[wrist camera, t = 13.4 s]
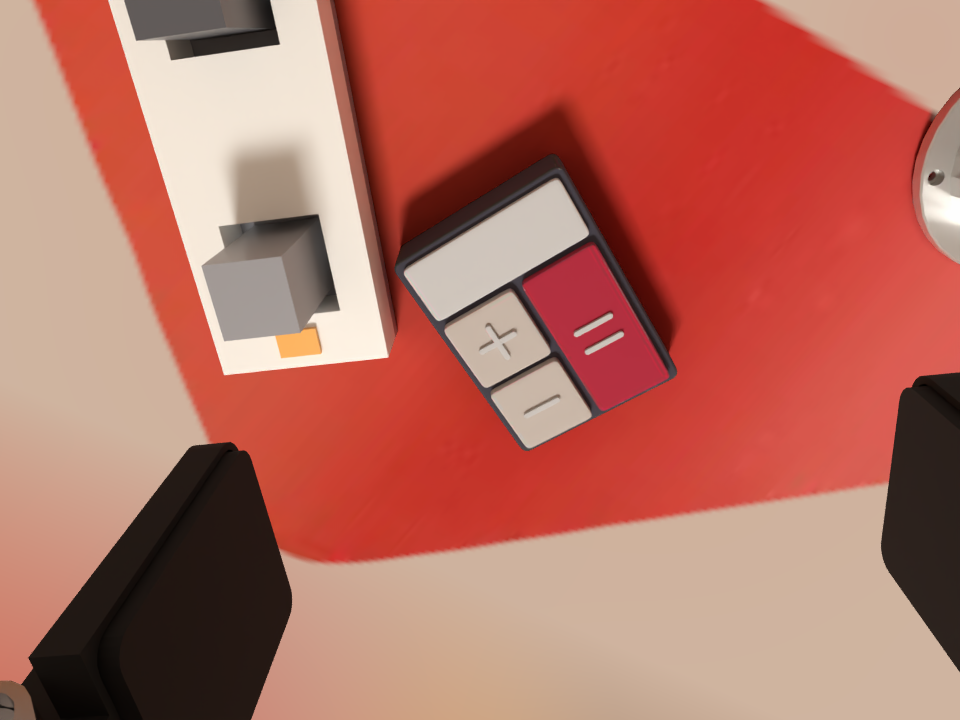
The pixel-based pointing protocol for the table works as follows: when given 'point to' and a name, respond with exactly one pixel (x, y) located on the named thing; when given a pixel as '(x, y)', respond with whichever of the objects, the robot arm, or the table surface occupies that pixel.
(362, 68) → the table surface
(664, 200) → the table surface
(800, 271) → the table surface
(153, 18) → the plug
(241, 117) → the power strip
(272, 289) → the grey square peg
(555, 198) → the calculator
